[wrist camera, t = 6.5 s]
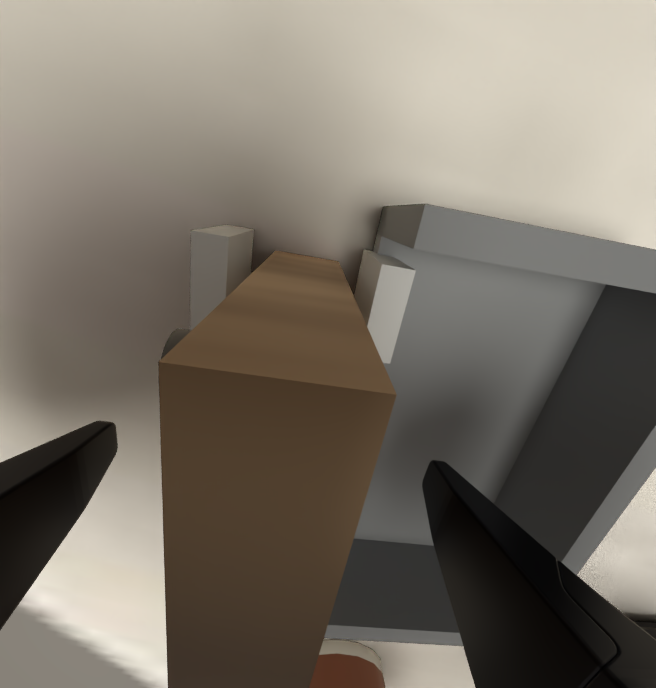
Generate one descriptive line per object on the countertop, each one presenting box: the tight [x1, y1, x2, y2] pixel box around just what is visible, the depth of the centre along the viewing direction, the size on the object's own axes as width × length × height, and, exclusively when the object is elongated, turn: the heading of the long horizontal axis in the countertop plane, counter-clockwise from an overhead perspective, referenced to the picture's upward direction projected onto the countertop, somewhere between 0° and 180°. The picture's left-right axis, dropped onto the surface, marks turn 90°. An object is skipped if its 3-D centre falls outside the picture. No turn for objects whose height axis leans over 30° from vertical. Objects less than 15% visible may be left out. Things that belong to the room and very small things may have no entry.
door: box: [158, 251, 397, 688], centre depth 8 cm, size 10×3×8 cm, turn 170°
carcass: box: [190, 204, 656, 646], centre depth 10 cm, size 14×12×4 cm
